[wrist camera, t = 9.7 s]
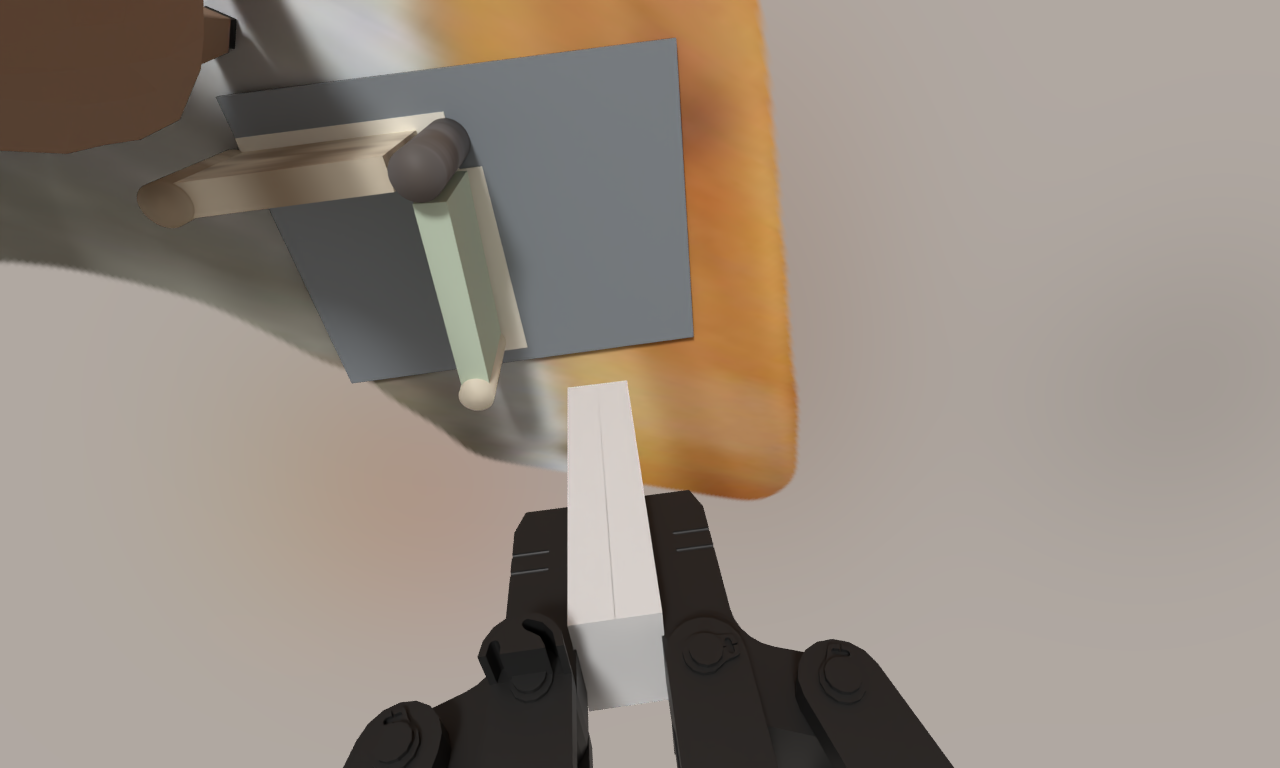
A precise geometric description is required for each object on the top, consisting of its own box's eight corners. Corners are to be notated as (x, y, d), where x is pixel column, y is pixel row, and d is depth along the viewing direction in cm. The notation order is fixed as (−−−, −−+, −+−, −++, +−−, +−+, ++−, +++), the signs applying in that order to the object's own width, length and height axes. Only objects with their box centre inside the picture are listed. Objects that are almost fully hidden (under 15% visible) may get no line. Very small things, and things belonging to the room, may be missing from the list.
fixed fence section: (232, 192, 32) (149, 238, 26) (210, 147, 31) (116, 184, 24) (475, 161, 32) (450, 199, 26) (463, 115, 31) (434, 143, 25)
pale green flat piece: (434, 173, 32) (406, 206, 26) (470, 170, 32) (449, 203, 27) (478, 356, 38) (462, 412, 33) (508, 353, 39) (497, 409, 33)
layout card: (354, 379, 40) (351, 384, 39) (220, 95, 30) (214, 97, 29) (692, 333, 40) (693, 337, 40) (674, 37, 30) (676, 38, 30)
